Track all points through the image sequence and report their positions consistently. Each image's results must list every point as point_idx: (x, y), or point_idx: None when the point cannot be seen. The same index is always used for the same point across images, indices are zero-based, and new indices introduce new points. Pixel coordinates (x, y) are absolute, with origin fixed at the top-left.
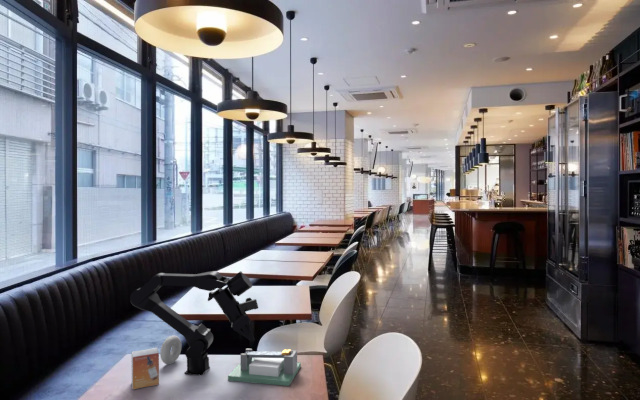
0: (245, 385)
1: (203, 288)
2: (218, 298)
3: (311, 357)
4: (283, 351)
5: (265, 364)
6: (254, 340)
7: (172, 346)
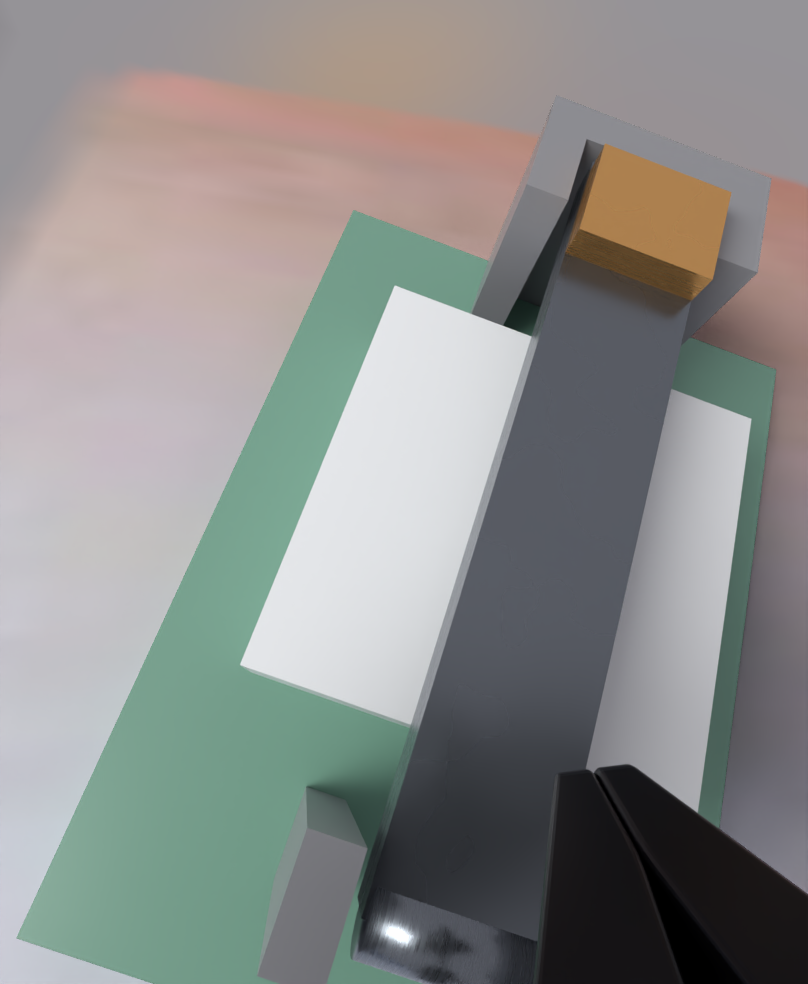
0: (761, 828)
1: None
2: None
3: (136, 116)
4: (664, 246)
5: (664, 568)
6: (629, 776)
7: None
